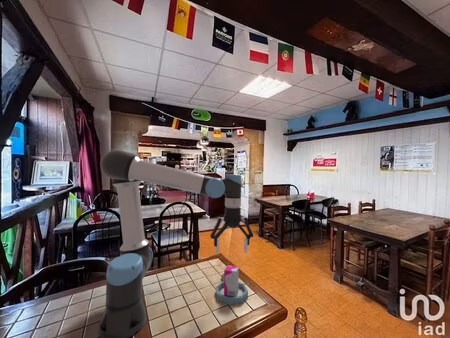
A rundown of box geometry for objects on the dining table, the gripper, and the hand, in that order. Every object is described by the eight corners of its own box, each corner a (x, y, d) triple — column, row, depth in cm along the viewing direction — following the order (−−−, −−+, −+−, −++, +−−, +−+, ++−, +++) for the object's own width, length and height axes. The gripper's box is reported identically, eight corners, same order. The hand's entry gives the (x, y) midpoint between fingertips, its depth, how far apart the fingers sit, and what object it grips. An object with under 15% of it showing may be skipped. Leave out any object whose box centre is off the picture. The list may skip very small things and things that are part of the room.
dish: (219, 306, 82) (219, 300, 82) (214, 287, 95) (214, 282, 95) (250, 302, 84) (250, 296, 84) (241, 284, 98) (241, 279, 98)
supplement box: (238, 290, 92) (239, 266, 92) (236, 298, 86) (236, 272, 87) (226, 288, 93) (227, 264, 94) (223, 295, 88) (223, 270, 88)
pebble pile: (224, 283, 100) (224, 276, 100) (219, 278, 105) (219, 271, 105) (234, 280, 103) (234, 273, 103) (229, 275, 108) (229, 269, 108)
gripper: (207, 208, 85) (205, 257, 84) (260, 208, 90) (259, 254, 89) (205, 205, 92) (204, 250, 92) (255, 205, 97) (254, 248, 97)
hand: (231, 252), depth 90 cm, fingers open, 13 cm apart
